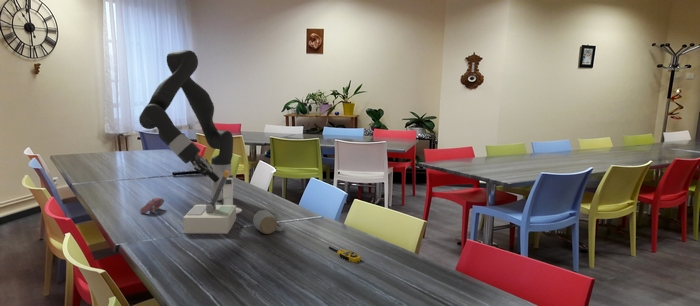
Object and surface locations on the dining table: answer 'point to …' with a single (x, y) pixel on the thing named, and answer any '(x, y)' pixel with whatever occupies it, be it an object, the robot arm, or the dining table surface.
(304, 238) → the dining table surface
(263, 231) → the ceramic mug
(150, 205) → the video game controller
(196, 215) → the switch box
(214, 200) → the lever
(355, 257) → the yellow walkie-talkie
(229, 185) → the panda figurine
